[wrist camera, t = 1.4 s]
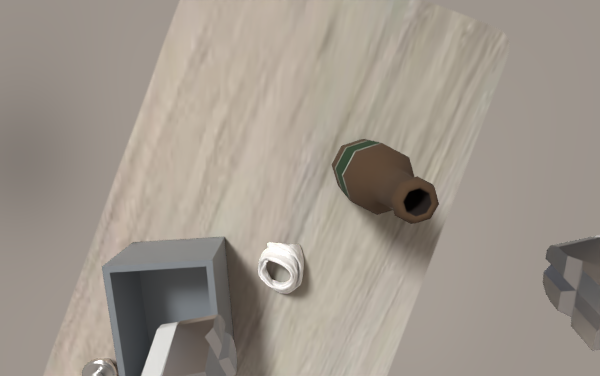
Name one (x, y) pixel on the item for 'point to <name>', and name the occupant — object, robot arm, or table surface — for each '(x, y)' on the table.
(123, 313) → the tote
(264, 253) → the white crumpled ring
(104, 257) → the table surface
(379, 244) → the table surface
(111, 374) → the screw
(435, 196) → the beer bottle
